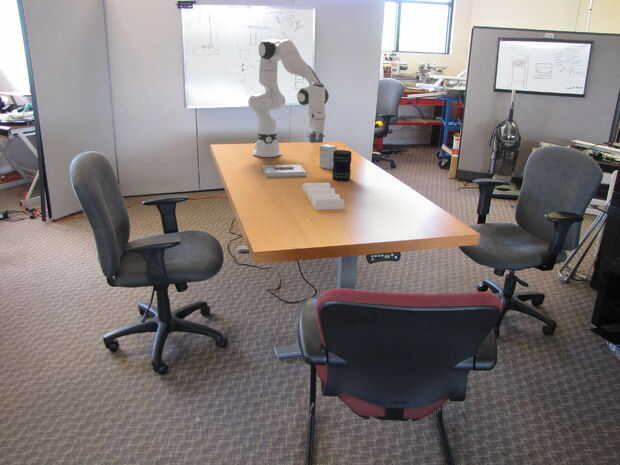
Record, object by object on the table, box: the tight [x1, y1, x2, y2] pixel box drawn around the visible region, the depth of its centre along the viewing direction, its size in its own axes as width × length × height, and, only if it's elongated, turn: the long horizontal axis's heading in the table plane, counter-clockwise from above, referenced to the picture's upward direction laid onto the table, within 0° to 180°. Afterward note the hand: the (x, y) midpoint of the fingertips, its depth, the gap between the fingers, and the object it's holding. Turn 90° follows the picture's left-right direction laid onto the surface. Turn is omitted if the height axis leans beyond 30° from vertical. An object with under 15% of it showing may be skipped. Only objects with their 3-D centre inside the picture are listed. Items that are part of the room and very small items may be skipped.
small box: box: [319, 143, 338, 170], centre depth 301 cm, size 8×6×13 cm
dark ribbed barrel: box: [331, 149, 352, 182], centre depth 276 cm, size 10×10×15 cm
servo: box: [306, 132, 326, 144], centre depth 286 cm, size 4×10×6 cm, turn 102°
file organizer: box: [302, 182, 345, 211], centre depth 244 cm, size 13×35×5 cm, turn 10°
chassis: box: [261, 164, 307, 178], centre depth 288 cm, size 18×22×2 cm
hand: (315, 138), depth 286 cm, fingers closed on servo, 4 cm apart
